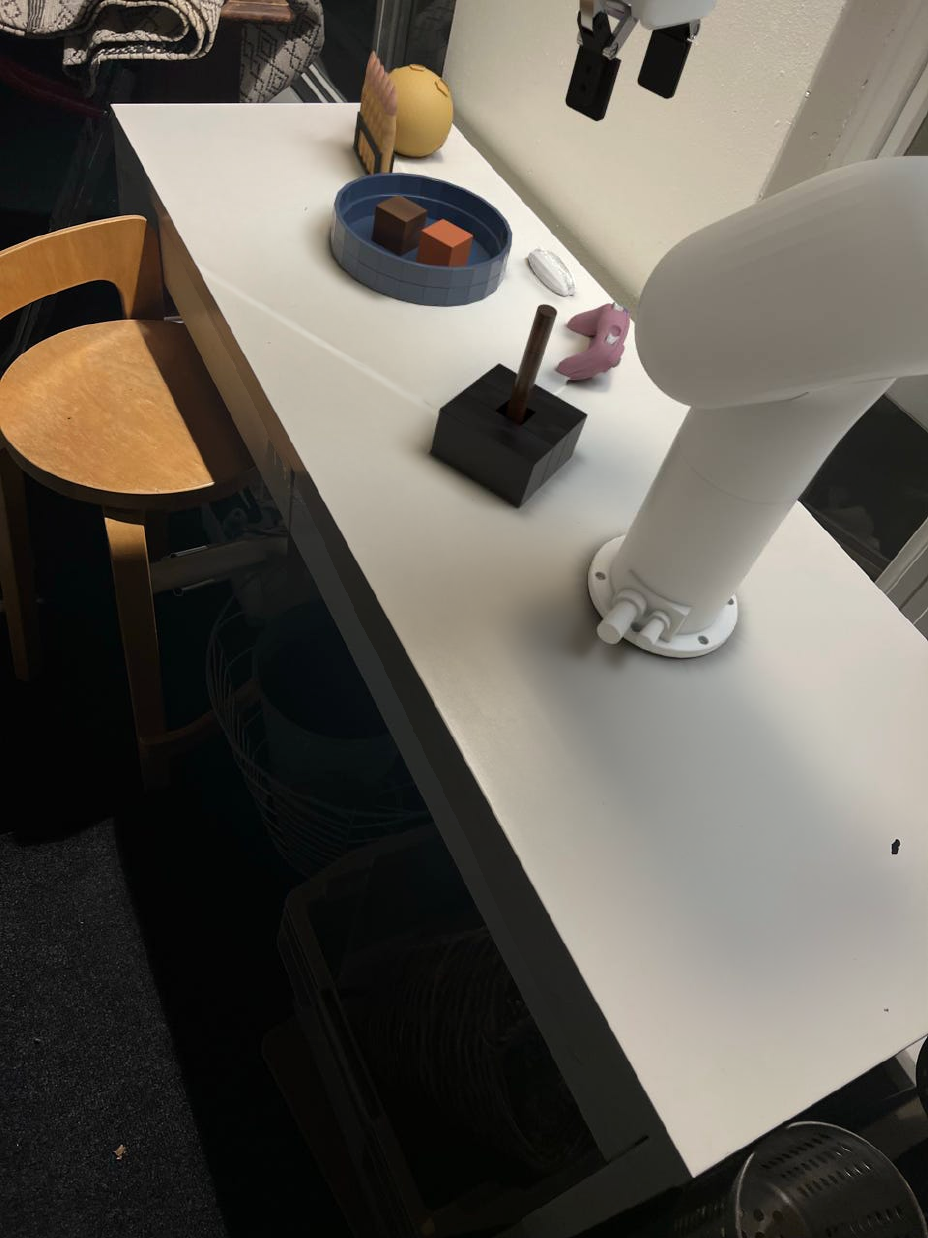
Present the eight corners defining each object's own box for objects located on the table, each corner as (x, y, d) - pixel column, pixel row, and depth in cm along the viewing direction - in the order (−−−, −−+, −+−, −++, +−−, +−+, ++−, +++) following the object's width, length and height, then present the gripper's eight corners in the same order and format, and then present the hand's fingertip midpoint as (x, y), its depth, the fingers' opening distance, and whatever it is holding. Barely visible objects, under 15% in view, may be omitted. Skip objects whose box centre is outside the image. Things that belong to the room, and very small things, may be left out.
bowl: (438, 335, 91) (447, 291, 88) (293, 250, 96) (296, 205, 92) (532, 271, 103) (543, 230, 99) (399, 198, 107) (405, 156, 103)
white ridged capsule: (541, 262, 105) (548, 239, 103) (577, 302, 101) (585, 279, 99) (519, 264, 103) (525, 241, 101) (555, 305, 100) (562, 282, 97)
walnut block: (400, 256, 98) (406, 221, 95) (371, 240, 99) (375, 204, 95) (421, 244, 100) (427, 210, 97) (392, 228, 101) (398, 193, 98)
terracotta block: (445, 282, 96) (452, 247, 93) (415, 265, 97) (421, 230, 94) (465, 269, 99) (473, 235, 96) (436, 252, 100) (442, 218, 97)
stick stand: (519, 508, 78) (534, 465, 74) (429, 452, 80) (439, 408, 76) (571, 456, 84) (588, 414, 80) (486, 406, 86) (499, 362, 82)
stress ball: (445, 178, 113) (462, 93, 105) (367, 163, 111) (378, 75, 103) (444, 142, 119) (459, 59, 111) (370, 127, 117) (380, 42, 110)
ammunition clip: (389, 198, 107) (405, 90, 98) (374, 197, 106) (388, 89, 97) (366, 153, 112) (379, 47, 103) (352, 152, 112) (363, 46, 103)
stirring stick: (504, 463, 81) (551, 318, 70) (490, 454, 81) (533, 308, 70) (514, 455, 82) (561, 310, 71) (499, 446, 82) (544, 301, 71)
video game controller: (583, 402, 92) (634, 359, 87) (551, 373, 90) (601, 329, 86) (594, 349, 98) (642, 307, 94) (563, 322, 97) (610, 278, 92)
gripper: (693, -185, 48) (596, 145, 61) (824, -178, 58) (717, 103, 71) (582, -228, 50) (511, 99, 63) (727, -214, 61) (640, 65, 73)
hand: (620, 101), depth 67 cm, fingers open, 9 cm apart
